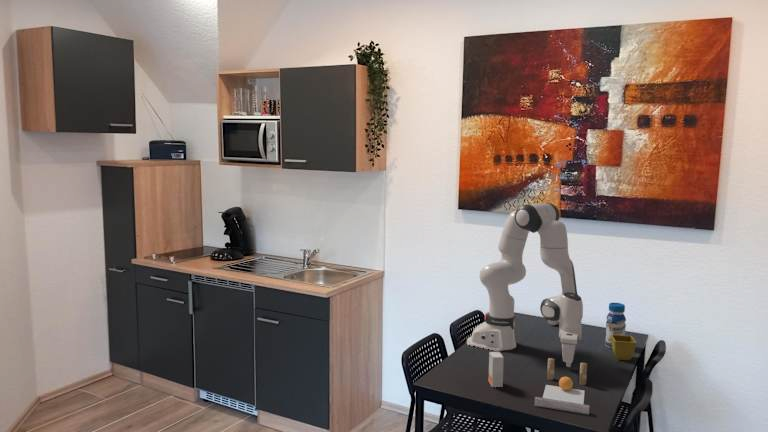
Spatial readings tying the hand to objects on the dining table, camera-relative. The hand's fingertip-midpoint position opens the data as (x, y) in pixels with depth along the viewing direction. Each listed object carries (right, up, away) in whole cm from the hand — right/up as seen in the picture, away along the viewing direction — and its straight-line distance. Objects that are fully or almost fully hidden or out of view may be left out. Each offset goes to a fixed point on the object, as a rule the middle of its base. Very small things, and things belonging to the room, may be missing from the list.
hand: (568, 365), depth 233 cm
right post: (+1, -3, -14) cm, 14 cm away
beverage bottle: (+31, +1, +29) cm, 42 cm away
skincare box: (-33, -3, -16) cm, 37 cm away
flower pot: (+28, -1, +14) cm, 31 cm away
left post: (-10, -3, -10) cm, 14 cm away
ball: (-8, -1, -20) cm, 22 cm away
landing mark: (-10, -4, -25) cm, 27 cm away
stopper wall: (-14, -6, -36) cm, 39 cm away
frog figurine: (+12, +5, +61) cm, 62 cm away
